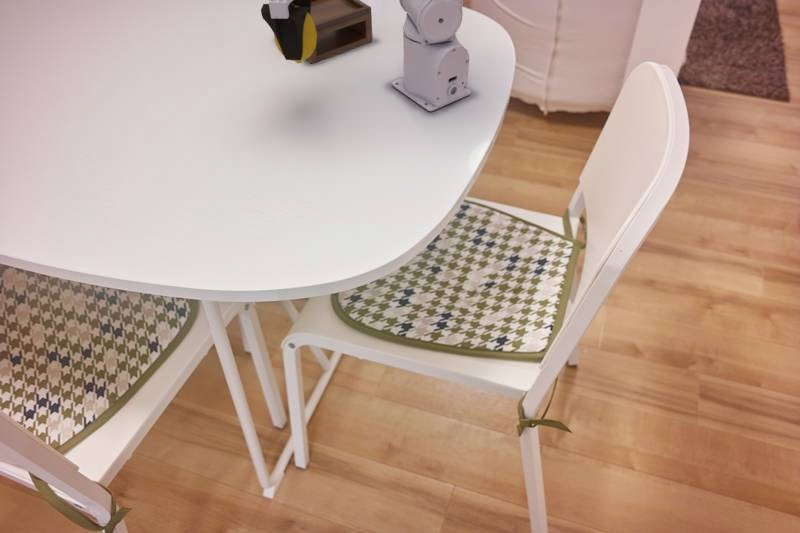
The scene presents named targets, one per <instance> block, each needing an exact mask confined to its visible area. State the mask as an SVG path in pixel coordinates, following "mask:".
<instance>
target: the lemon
mask: <svg viewBox="0 0 800 533" xmlns="http://www.w3.org/2000/svg"><path fill="white" fill-rule="evenodd" d="M295 7H299V6H295ZM273 37H274V42H275V45H276V48H277V49H278V51H279V53H280V54H281V55H282V56H283V57H284V55H283V53H282V50H281V48H280V45H279V43H278V40H277V38H276V36H275V34H274V33H273ZM316 42H317V33H316V28H315V24H314V22H313V19H312V17H311V16H310V14H309V13H307V15H306V18H305V22H304V30H303V54H302V59H301V60H291V61H293V62H295V63H296V64H302V63H303V61H305V60H306V59H307V58H308V57H310V56H311V55H312V53H313V52H314V50H315V47H316Z"/></svg>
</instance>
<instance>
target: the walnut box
mask: <svg viewBox="0 0 800 533" xmlns="http://www.w3.org/2000/svg"><path fill="white" fill-rule="evenodd" d="M372 15H373V14H372V7H371V6H370V5H368V4H366V3H365V2H364V1H362V0H312V3H311V13H310V16H311V17H312V19H313V22H314V24H315V28H316V33H317V42H316V47H315V50H314V52H313V53H312V55H311V56H310V57H308V58H307V59H305V60H306V61H307V62H308V63H310V64H311V65H312V64H314V63H317V62H321V61H323V60H326V59H328V58H332V57H334V56H336V55H339V54H342V53H344V52H347V51H350V50H353V49H356V48H359V47H361V46H364V45H366V44H369V43H372V42H374V41H373V19H372Z"/></svg>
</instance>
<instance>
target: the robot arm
mask: <svg viewBox="0 0 800 533" xmlns="http://www.w3.org/2000/svg"><path fill="white" fill-rule="evenodd" d="M398 1H399V4H400V7H401V8H402V9H403V11H404V12H405V13H406V16H405V17H406V18H405V21H404V23H403V29H402V30H403V31H402V32H403V34H402V35H403V42H402V44H403V46H402V48H403V50H402V51H403V57H402V58H403V76H402V77H400V78H398V79H395V80H393V81H391V86H392V87H394V89H396V90H397V91H399V92H400V93H401V94H404V95H405V96H406V97H408V98H409V99H411V100H412V101H414V102H415V103H416V104H418V105H419V106H420V107H422V108H423V109H425V110H426V111H428V112H433V111H436V110H437V109H441V108H442V107H444V106H447V105H449V104H452V103H453V102H456V101H458V100H461V99H463V98H465V97H467V96H469V95H471V94H472V92H471V90H470V89H469V88H468V80H469V69H470V68H469V66H470V55H469V51H468V50H467V48H466V47H465V46H463V45H462V44H461V42H460V41H459V40H458V38H457V32H458V30H459V29H460V27H461V24H462V21H463V5H464V2H465V1H464V0H398ZM311 3H312V0H268V3H263V4H262V6H261V9H260V15H261V17H262V19H263V21H265V23H266V24H267V25H268V26H269V28H270V29H271V32H272V33H273V35H274V34H275V36H276V38H277V40H278V43H279V45H280V48H281V50H282V53H283V55H284V56H283V55H282V56H283V57H284V59H285V60H286V61H292V60H301V59H302V54H303V30H304V22H305V18H306V15H307V13H309V14H310V13H311ZM295 6H299V7H295Z"/></svg>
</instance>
